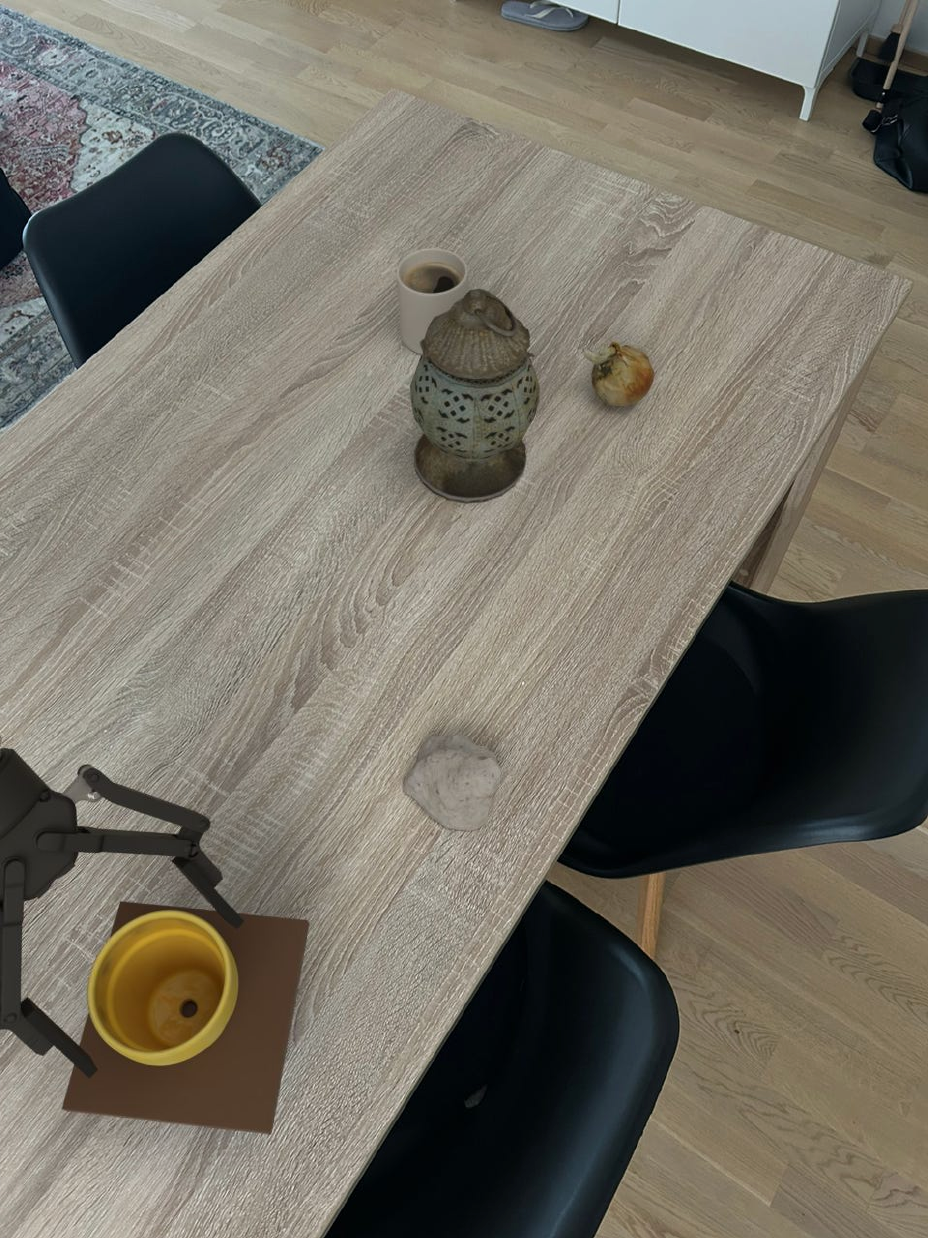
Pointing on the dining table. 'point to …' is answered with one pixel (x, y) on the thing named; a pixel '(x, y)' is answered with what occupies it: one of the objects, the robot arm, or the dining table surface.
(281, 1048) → the stand
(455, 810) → the stone
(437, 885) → the dining table surface
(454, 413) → the lantern
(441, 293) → the mug
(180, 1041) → the flower pot
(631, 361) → the onion
